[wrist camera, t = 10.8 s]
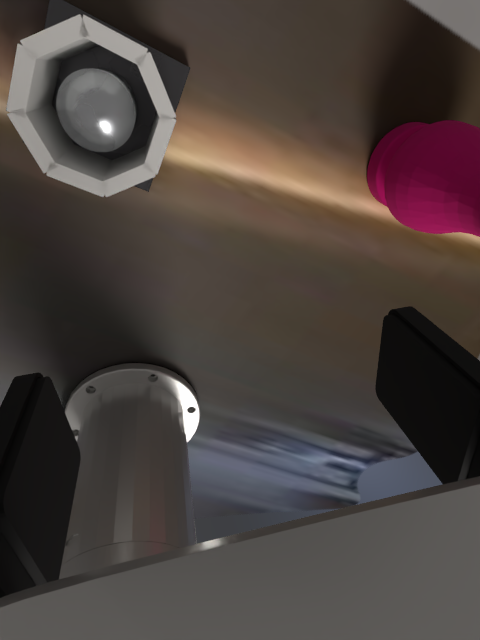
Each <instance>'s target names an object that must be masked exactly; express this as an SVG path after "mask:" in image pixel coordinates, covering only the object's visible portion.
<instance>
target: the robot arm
mask: <svg viewBox="0 0 480 640" xmlns="http://www.w3.org/2000/svg"><path fill="white" fill-rule="evenodd" d="M376 394H377V396H378V398H379V400H380V401H381V403H382V404H383V405H384V407H385V408H386V409H387V411H388V412H389V413H390V415H391V416H392V417H393V419H394V420H395V421H396V423H397V424H398V425H399V427H400V428H401V429H402V431H403V432H404V433H405V435H406V436H407V437H408V439H409V440H410V441H411V442H412V444H413V445H414V446H415V448H416V449H417V450H418V452H419V453H420V454H421V456H422V457H423V458H424V460H425V461H426V462H427V464H428V465H429V466H430V468H431V469H432V470H433V472H434V473H435V474H436V476H437V477H438V478H439V480H440V481H441V482H442V484H443V485H439V486H434V487H430V488H426V489H422V490H418V491H414V492H409V493H405V494H401V495H397V496H392V497H388V498H384V499H380V500H375V501H371V502H367V503H363V504H359V505H354V506H350V507H346V508H342V509H338V510H334V511H330V512H326V513H322V514H317V515H313V516H309V517H305V518H301V519H297V520H292V521H288V522H285V523H280V524H276V525H272V526H268V527H264V528H260V529H256V530H251V531H248V532H243V533H239V534H235V535H231V536H227V537H223V538H219V539H215V540H211V541H207V542H203V543H199V544H196V533H195V522H194V512H193V501H192V491H191V480H190V470H189V459H188V448H187V442H188V441H189V440H190V439H191V438H192V436H193V435H194V433H195V432H196V429H197V427H198V424H199V419H200V408H199V402H198V398H197V395H196V393H195V391H194V390H193V388H192V387H191V385H190V384H189V383H188V382H187V381H186V380H185V379H184V378H182V377H181V376H179V375H178V374H177V373H175V372H173V371H170V370H168V369H166V368H163V367H160V366H156V365H152V364H143V363H125V364H120V365H114V366H110V367H107V368H104V369H102V370H99V371H97V372H95V373H93V374H91V375H90V376H88V377H87V378H85V379H84V380H83V381H82V382H80V383H79V384H78V385H77V387H76V388H75V389H74V390H73V391H72V393H71V395H70V397H69V399H68V401H67V404H66V409H65V412H64V409H63V407H62V405H61V402H60V400H59V397H58V395H57V392H56V390H55V388H54V385H53V383H52V380H51V379H50V377H43V375H42V374H41V373H33V374H28V375H22V376H17V377H15V378H14V379H13V381H12V383H11V385H10V387H9V389H8V392H7V394H6V396H5V398H4V400H3V402H2V404H1V406H0V640H480V361H479V360H478V359H477V358H475V357H474V356H473V355H472V354H470V353H469V352H468V351H467V350H465V349H464V348H463V347H462V346H461V345H459V344H458V343H457V342H456V341H454V340H453V339H452V338H451V337H449V336H448V335H447V334H446V333H444V332H443V331H442V330H441V329H439V328H438V327H437V326H436V325H435V324H433V323H432V322H431V321H430V320H428V319H427V318H426V317H425V316H423V315H422V314H421V313H420V312H418V311H417V310H416V309H415V308H413V307H403V308H398V309H392V310H390V312H389V313H388V315H386V316H385V317H384V320H383V327H382V336H381V344H380V353H379V362H378V370H377V379H376Z"/></svg>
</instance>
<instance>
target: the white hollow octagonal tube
mask: <svg viewBox="0 0 480 640" xmlns="http://www.w3.org/2000/svg"><path fill="white" fill-rule="evenodd" d="M20 42H21V44H19V43H18V45H17V50H16V56H15V62H14V68H13V73H12V79H11V85H10V91H9V96H8V102H7V108H6V111H8V112H11V113H8V114H7V115H8V117H9V118H10V120H11V122H12V123H13V125H14V127H15V128H16V130H17V131H18V133H19V135H20V136H21V138H22V139H23V141H24V143H25V144H26V146H27V147H28V149H29V151H30V152H31V154H32V155H33V157H34V159H35V160H36V162H37V163H38V165H39V167H40V168H41V170H42V172H43V173H46V172H47V175H46V176H49V177H51V178H54V179H57V180H59V181H62V182H64V183H67V184H70V185H72V186H75V187H77V188H80V189H83V190H85V191H88V192H91V193H93V194H96V195H98V196H101V197H104V194H105V196H106V197H108V196H111V195H113V194H116V193H118V192H120V191H123V190H125V189H127V188H130V187H132V186H134V185H137V184H139V183H142V182H144V181H146V180H149V179H151V178H153V177H155V174H158V171H159V168H160V165H161V163H162V160H163V157H164V154H165V151H166V148H167V145H168V143H169V140H170V137H171V134H172V131H173V128H174V125H175V123H176V118H175V117H176V115H175V112H174V110H173V107H172V105H171V102H170V100H169V97H168V95H167V92H166V90H165V87H164V85H163V82H162V80H161V77H160V75H159V72H158V70H157V67H156V65H155V62H154V60H153V57H152V55H151V52H149V53H148V49H147V48H145V47H143V46H141V45H139V44H138V43H136V42H134V41H132V40H130V39H128V38H126V37H125V36H123V35H121V34H119V33H117V32H115V31H113V30H112V29H110V28H108V27H106V26H104V25H102V24H100V23H99V22H97V21H95V20H93V19H91V18H89V17H87V16H86V15H84V14H83V16H82V15H80V14H79V15H77V16H74V17H72V18H70V19H68V20H65V21H63V22H61V23H58V24H56V25H54V26H52V27H49V28H47V29H45V30H43V31H40V32H38V33H36V34H33V35H31V36H29V37H27V38H24V39H22V40H20ZM97 45H100V46H102V47H104V48H106V49H108V50H110V51H112V52H114V53H116V54H118V55H119V56H121V57H123V58H125V59H127V60H129V61H131V62H133V63H135V64H137V66H138V68H139V70H140V73H141V75H142V77H143V80H144V82H145V84H146V87H147V89H148V92H149V94H150V96H151V99H152V101H153V103H154V106H155V108H156V110H157V113H156V116H155V119H154V122H153V125H152V128H151V131H150V134H149V137H148V141H147V144H146V146H145V147H142V148H140V149H137V150H135V151H133V152H130V153H128V154H126V155H123V156H121V157H119V158H116V159H114V160H110V159H108V158H106V157H103V156H101V155H98V154H96V153H94V152H91V151H89V150H86V149H84V148H82V147H79V146H77V145H74V143H73V142H72V140H71V138H70V137H69V135H68V134H67V133H66V132H65V130H64V128H63V127H62V125H61V123H60V120H59V117H58V115H57V113H56V111H55V109H54V107H53V106H52V101H53V96H54V91H55V87H56V82H57V78H58V73H59V69H60V64H61V61H63V60H65V59H67V58H69V57H72V56H74V55H76V54H79V53H81V52H83V51H85V50H88V49H90V48H92V47H95V46H97Z"/></svg>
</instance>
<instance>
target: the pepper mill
mask: <svg viewBox="0 0 480 640" xmlns="http://www.w3.org/2000/svg"><path fill="white" fill-rule="evenodd" d="M367 181H368V186H369V189H370V191H371V193H372V195H373V196H374V197H375V199H376V200H377V201H379V202H380V203H382V204H383V205H385V206H387V207H388V208H389V210H390V212H391V214H392V215H393V216H394V217H395V218H396V219H397V220H398V221H399V222H400V223H402V224H403V225H405V226H408V227H410V228H412V229H414V230H416V231H421V232H426V233H433V234H442V233H452V232H463V233H469V234H473V235H476V236H479V237H480V129H479V128H478V127H476V126H473V125H470V124H467V123H464V122H460V121H455V120H445V121H439V122H435V123H432V124H426V123H421V122H410V123H405V124H402V125H400V126H398V127H396V128H394V129H393V130H392V131H390V132H389V133H387V134H386V135H385V136H384V137H383V138H382V139H381V141H380V142H379V143H378V145H377V146H376V148H375V149H374V151H373V153H372V155H371V158H370V161H369V165H368V171H367Z"/></svg>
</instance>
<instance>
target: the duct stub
mask: <svg viewBox="0 0 480 640" xmlns="http://www.w3.org/2000/svg"><path fill="white" fill-rule="evenodd" d="M79 14H80V15H82V16H83V14H84V15H86V16H87V17H89V18H91V19H93V20H95V21H97V22H99V23H100V24H102V25H104V26H106V27H108V28H110V29H112V30H113V31H115V32H117V33H119V34H121V35H123V36H125V37H126V38H128V39H130V40H132V41H134V42H136V43H138V44H139V45H141V46H143V47H145V48H147V49H148V53H149V52H151V55H152V57H153V60H154V62H155V65H156V67H157V70H158V72H159V75H160V77H161V80H162V82H163V85H164V87H165V90H166V92H167V95H168V97H169V100H170V102H171V105H172V107H173V110H174V112H176V109H177V106H178V103H179V100H180V97H181V94H182V91H183V88H184V85H185V82H186V79H187V76H188V73H189V70H190V67H188V66H186V65H184V64H182V63H180V62H178V61H176V60H175V59H173V58H171V57H169V56H167V55H165V54H163V53H161V52H160V51H158V50H156V49H154V48H152V47H150V46H148V45H146V44H145V43H143V42H141V41H139V40H137V39H135V38H133V37H131V36H129V35H128V34H126V33H124V32H122V31H120V30H118V29H116V28H114V27H113V26H111V25H109V24H107V23H105V22H103V21H101V20H99V19H98V18H96V17H94V16H92V15H90V14H88V13H86V12H84V11H83V10H81V9H79V8H77V7H75V6H73V5H71V4H69V3H68V2H66V1H64V0H50V1H49V6H48V11H47V16H46V22H45V27H44V30H45V29H47V28H49V27H52V26H54V25H56V24H58V23H61V22H63V21H65V20H68V19H70V18H72V17H74V16H77V15H79ZM52 106H53V107H54V109H55V111H56V113H57V115H58V117H59V120H60V123H61V125H62V127H63V128H64V130H65V132H66V133H67V134H68V135H69V137H70V138H71V140H72V142H73V143H74V145H77V146H79V147H82V148H84V149H86V150H89V151H91V152H94V153H96V154H98V155H101V156H103V157H106V158H108V159H110V160H114V159H116V158H119V157H121V156H123V155H126V154H128V153H130V152H133V151H135V150H137V149H140V148H142V147H145V146H146V144H147V141H148V137H149V134H150V131H151V128H152V125H153V122H154V119H155V116H156V113H157V110H156V108H155V106H154V103H153V101H152V99H151V96H150V94H149V92H148V89H147V87H146V84H145V82H144V80H143V77H142V75H141V73H140V70H139V68H138V66H137V64H135V63H133V62H131V61H129V60H127V59H125V58H123V57H121V56H119V55H118V54H116V53H114V52H112V51H110V50H108V49H106V48H104V47H102V46H100V45H97V46H95V47H92V48H90V49H88V50H85V51H83V52H81V53H79V54H76V55H74V56H72V57H69V58H67V59H65V60H63V61H61V64H60V69H59V73H58V78H57V82H56V87H55V91H54V96H53V101H52ZM23 142H24V141H23ZM152 180H153V178H151V179H149V180H146V181H144V182H142V183H139V184H137V185H134V186H136V187H138V188H141V189H143V190H146V191H148V192H149V189H150V186H151V183H152Z"/></svg>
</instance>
